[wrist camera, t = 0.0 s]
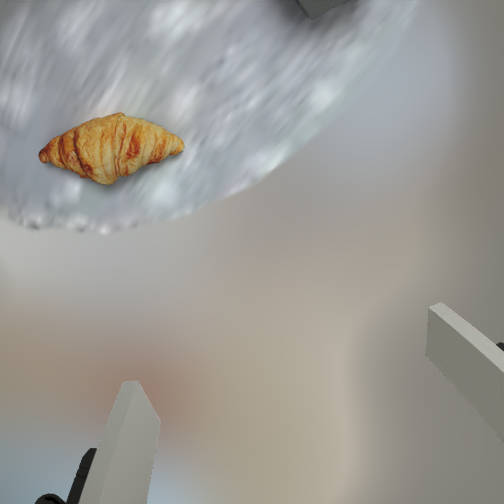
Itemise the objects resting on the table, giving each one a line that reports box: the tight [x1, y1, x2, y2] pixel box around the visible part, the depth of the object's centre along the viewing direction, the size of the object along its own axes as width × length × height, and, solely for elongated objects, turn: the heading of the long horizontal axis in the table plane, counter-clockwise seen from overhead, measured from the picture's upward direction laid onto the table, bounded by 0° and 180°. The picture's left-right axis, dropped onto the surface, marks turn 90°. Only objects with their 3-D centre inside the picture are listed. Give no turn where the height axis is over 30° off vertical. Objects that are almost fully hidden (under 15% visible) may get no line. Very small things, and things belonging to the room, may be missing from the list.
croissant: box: [38, 112, 185, 185], centre depth 37 cm, size 21×10×8 cm, turn 80°
